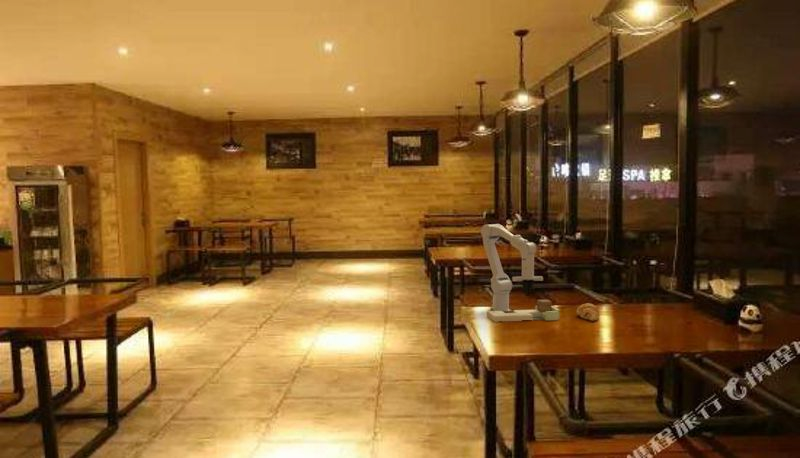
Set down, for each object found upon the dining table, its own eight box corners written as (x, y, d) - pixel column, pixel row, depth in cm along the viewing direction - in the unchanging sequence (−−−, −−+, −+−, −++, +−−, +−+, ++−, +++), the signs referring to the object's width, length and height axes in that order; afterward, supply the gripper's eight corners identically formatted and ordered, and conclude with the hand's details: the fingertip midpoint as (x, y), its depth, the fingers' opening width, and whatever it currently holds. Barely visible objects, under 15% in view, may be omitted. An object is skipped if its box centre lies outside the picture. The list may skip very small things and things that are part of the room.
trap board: (486, 315, 284) (486, 306, 284) (548, 313, 288) (548, 304, 288) (495, 322, 270) (495, 312, 270) (559, 320, 274) (560, 310, 274)
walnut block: (537, 310, 285) (537, 299, 285) (547, 309, 286) (547, 299, 285) (541, 312, 280) (541, 301, 280) (551, 311, 281) (551, 301, 280)
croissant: (599, 329, 270) (608, 314, 269) (580, 319, 270) (589, 304, 269) (587, 318, 291) (595, 304, 290) (569, 309, 291) (577, 295, 290)
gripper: (515, 269, 276) (515, 297, 277) (545, 268, 278) (545, 296, 279) (511, 267, 283) (510, 295, 284) (540, 266, 285) (539, 294, 286)
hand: (527, 295), depth 282 cm, fingers closed
